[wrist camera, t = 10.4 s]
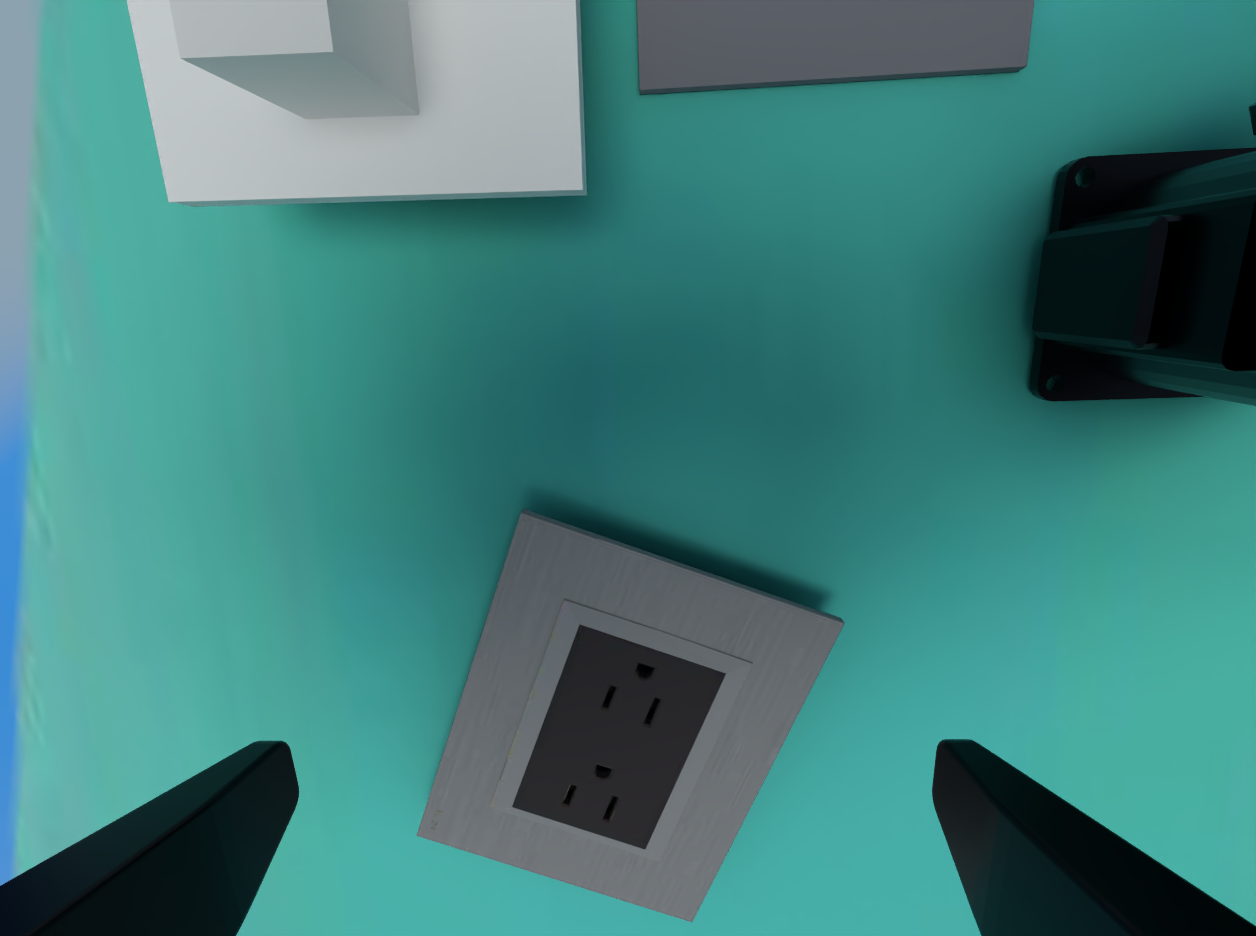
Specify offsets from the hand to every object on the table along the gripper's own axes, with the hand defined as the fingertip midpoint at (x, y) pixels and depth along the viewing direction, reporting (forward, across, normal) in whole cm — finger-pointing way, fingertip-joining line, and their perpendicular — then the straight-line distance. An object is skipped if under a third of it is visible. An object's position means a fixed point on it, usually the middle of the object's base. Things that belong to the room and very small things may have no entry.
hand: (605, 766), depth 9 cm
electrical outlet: (+13, +1, +8) cm, 15 cm away
